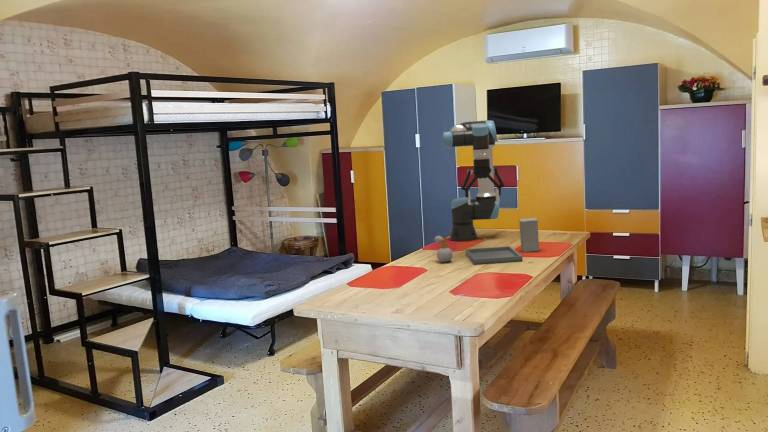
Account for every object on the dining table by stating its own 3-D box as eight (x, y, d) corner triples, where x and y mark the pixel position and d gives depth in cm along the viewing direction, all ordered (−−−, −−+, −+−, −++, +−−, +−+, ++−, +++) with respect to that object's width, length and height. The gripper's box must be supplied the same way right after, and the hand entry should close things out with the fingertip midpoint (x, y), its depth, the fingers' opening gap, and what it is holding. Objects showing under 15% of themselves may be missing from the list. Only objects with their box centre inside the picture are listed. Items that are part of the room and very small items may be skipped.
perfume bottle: (448, 264, 284) (446, 238, 282) (430, 262, 289) (428, 237, 288) (455, 260, 290) (454, 235, 288) (438, 259, 295) (436, 234, 294)
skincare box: (537, 248, 304) (536, 217, 302) (539, 251, 297) (538, 219, 295) (520, 249, 305) (518, 218, 303) (521, 252, 298) (520, 220, 296)
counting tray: (466, 254, 303) (465, 249, 302) (510, 251, 303) (510, 246, 303) (474, 264, 279) (474, 259, 279) (522, 261, 279) (522, 256, 279)
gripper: (456, 160, 283) (458, 206, 286) (509, 157, 285) (511, 202, 287) (453, 160, 291) (455, 204, 294) (505, 156, 292) (507, 200, 295)
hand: (483, 203), depth 291 cm, fingers open, 13 cm apart
